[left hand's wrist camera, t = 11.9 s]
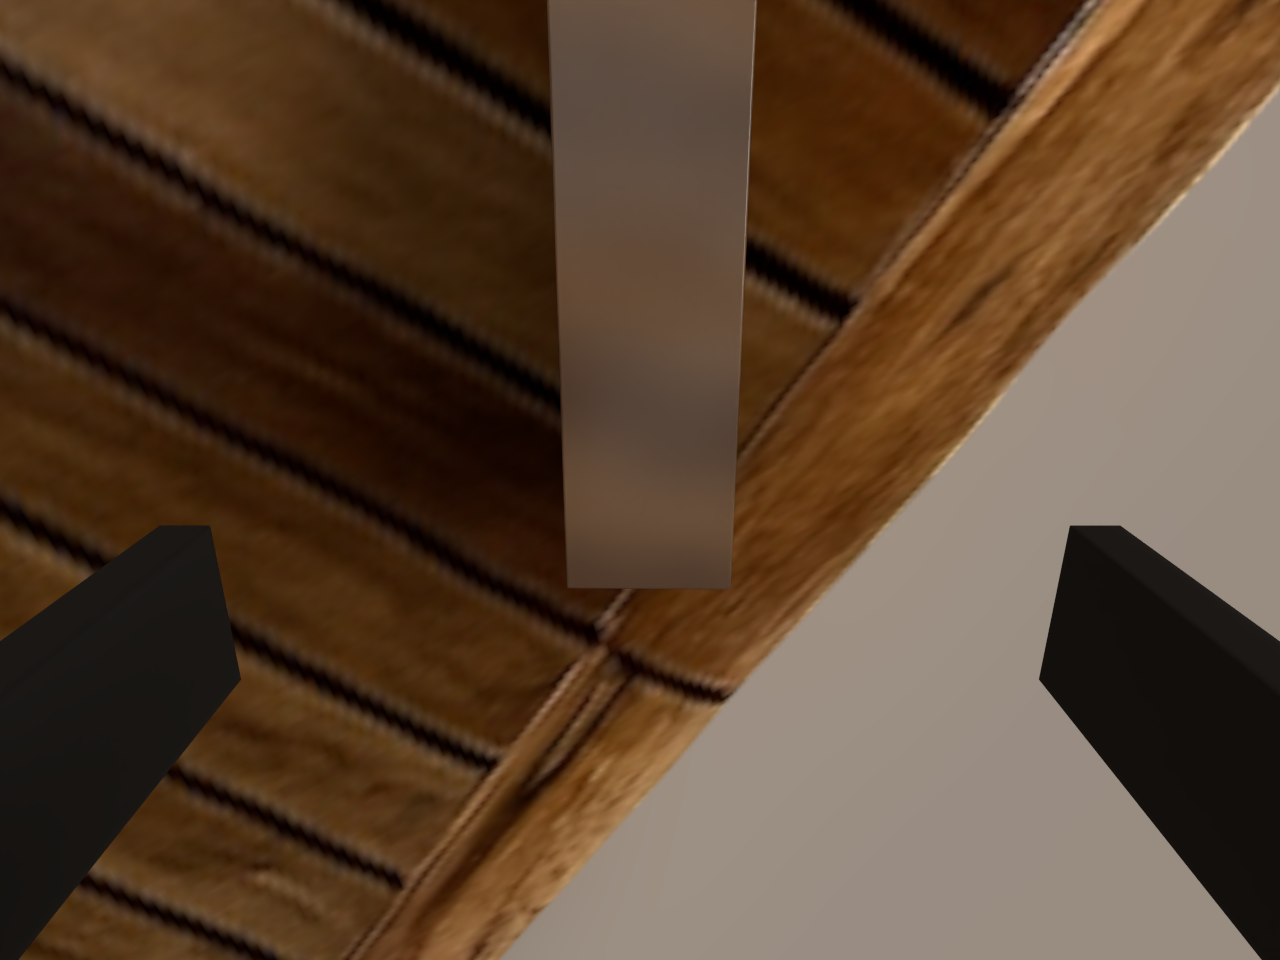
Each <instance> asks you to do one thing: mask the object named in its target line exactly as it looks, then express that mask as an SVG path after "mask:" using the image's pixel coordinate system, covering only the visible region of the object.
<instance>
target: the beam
mask: <svg viewBox="0 0 1280 960" xmlns="http://www.w3.org/2000/svg"><path fill="white" fill-rule="evenodd" d="M756 19H757V0H547V28H548V57H549V86H550V115H551V144H552V173H553V202H554V231H555V260H556V290H557V319H558V348H559V377H560V406H561V435H562V464H563V493H564V522H565V552H566V581H567V587H568V588H620V589H730V588H731V574H732V552H733V530H734V508H735V485H736V463H737V441H738V419H739V397H740V374H741V352H742V330H743V308H744V286H745V264H746V241H747V219H748V197H749V175H750V153H751V130H752V108H753V86H754V64H755V42H756Z"/></svg>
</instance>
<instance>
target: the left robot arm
mask: <svg viewBox="0 0 1280 960" xmlns="http://www.w3.org/2000/svg"><path fill="white" fill-rule="evenodd" d="M240 680H241V677H240V672H239V667H238V662H237V657H236V652H235V647H234V642H233V637H232V632H231V627H230V623H229V618H228V613H227V608H226V603H225V598H224V593H223V588H222V583H221V578H220V573H219V568H218V563H217V558H216V553H215V548H214V543H213V538H212V533H211V528H210V526H159V527H157V528H156V529H154V530H153V531H152V532H150V533H149V534H148V535H146V536H145V537H143V538H142V539H141V540H139V541H138V542H137V543H135V544H134V545H132V546H131V547H130V548H128V549H127V550H126V551H124V552H123V553H121V554H120V555H119V556H117V557H116V558H115V559H113V560H112V561H110V562H109V563H108V564H106V565H105V566H103V567H102V568H101V569H99V570H98V571H97V572H95V573H94V574H92V575H91V576H90V577H88V578H87V579H86V580H84V581H83V582H81V583H80V584H79V585H77V586H76V587H75V588H73V589H72V590H70V591H69V592H68V593H66V594H65V595H64V596H62V597H61V598H59V599H58V600H57V601H55V602H54V603H53V604H51V605H50V606H48V607H47V608H46V609H44V610H43V611H41V612H40V613H39V614H37V615H36V616H35V617H33V618H32V619H30V620H29V621H28V622H26V623H25V624H24V625H22V626H21V627H19V628H18V629H17V630H15V631H14V632H13V633H11V634H10V635H8V636H7V637H6V638H4V639H3V640H2V641H0V960H18V959H19V958H20V957H21V956H22V954H23V953H24V952H25V951H26V949H27V948H28V947H29V946H30V944H31V943H32V942H33V941H34V939H35V938H36V937H37V936H38V934H39V933H40V932H41V931H42V929H43V928H44V927H45V925H46V924H47V923H48V922H49V920H50V919H51V918H52V917H53V915H54V914H55V913H56V912H57V910H58V909H59V908H60V907H61V905H62V904H63V903H64V902H65V900H66V899H67V898H68V897H69V895H70V894H71V893H72V891H73V890H74V889H75V888H76V886H77V885H78V884H79V883H80V881H81V880H82V879H83V878H84V876H85V875H86V874H87V873H88V871H89V870H90V869H91V868H92V866H93V865H94V864H95V863H96V861H97V860H98V859H99V858H100V856H101V855H102V854H103V852H104V851H105V850H106V849H107V847H108V846H109V845H110V844H111V842H112V841H113V840H114V839H115V837H116V836H117V835H118V834H119V832H120V831H121V830H122V829H123V827H124V826H125V825H126V824H127V822H128V821H129V820H130V818H131V817H132V816H133V815H134V813H135V812H136V811H137V810H138V808H139V807H140V806H141V805H142V803H143V802H144V801H145V800H146V798H147V797H148V796H149V795H150V793H151V792H152V791H153V790H154V788H155V787H156V786H157V785H158V783H159V782H160V781H161V779H162V778H163V777H164V776H165V774H166V773H167V772H168V771H169V769H170V768H171V767H172V766H173V764H174V763H175V762H176V761H177V759H178V758H179V757H180V756H181V754H182V753H183V752H184V751H185V749H186V748H187V747H188V745H189V744H190V743H191V742H192V740H193V739H194V738H195V737H196V735H197V734H198V733H199V732H200V730H201V729H202V728H203V727H204V725H205V724H206V723H207V722H208V720H209V719H210V718H211V717H212V715H213V714H214V713H215V711H216V710H217V709H218V708H219V706H220V705H221V704H222V703H223V701H224V700H225V699H226V698H227V696H228V695H229V694H230V693H231V691H232V690H233V689H234V688H235V686H236V685H237V684H238V683H239V681H240ZM1039 680H1040V681H1041V683H1042V684H1043V685H1044V686H1045V688H1046V689H1047V690H1048V691H1049V693H1050V694H1051V695H1052V696H1053V698H1054V699H1055V700H1056V701H1057V703H1058V704H1059V705H1060V706H1061V708H1062V709H1063V710H1064V712H1065V713H1066V714H1067V715H1068V717H1069V718H1070V719H1071V720H1072V722H1073V723H1074V724H1075V725H1076V727H1077V728H1078V729H1079V730H1080V732H1081V733H1082V734H1083V735H1084V737H1085V738H1086V739H1087V740H1088V742H1089V743H1090V744H1091V745H1092V747H1093V748H1094V749H1095V751H1096V752H1097V753H1098V754H1099V756H1100V757H1101V758H1102V759H1103V761H1104V762H1105V763H1106V764H1107V766H1108V767H1109V768H1110V769H1111V771H1112V772H1113V773H1114V774H1115V776H1116V777H1117V778H1118V779H1119V781H1120V782H1121V783H1122V784H1123V786H1124V787H1125V788H1126V789H1127V791H1128V792H1129V793H1130V795H1131V796H1132V797H1133V798H1134V800H1135V801H1136V802H1137V803H1138V805H1139V806H1140V807H1141V808H1142V810H1143V811H1144V812H1145V813H1146V815H1147V816H1148V817H1149V818H1150V820H1151V821H1152V822H1153V824H1154V825H1155V826H1156V827H1157V829H1158V830H1159V831H1160V832H1161V834H1162V835H1163V836H1164V837H1165V839H1166V840H1167V841H1168V842H1169V844H1170V845H1171V846H1172V847H1173V849H1174V850H1175V851H1176V852H1177V854H1178V855H1179V856H1180V858H1181V859H1182V860H1183V861H1184V863H1185V864H1186V865H1187V866H1188V868H1189V869H1190V870H1191V871H1192V873H1193V874H1194V875H1195V876H1196V878H1197V879H1198V880H1199V881H1200V883H1201V884H1202V885H1203V886H1204V888H1205V889H1206V890H1207V891H1208V893H1209V894H1210V895H1211V896H1212V898H1213V899H1214V900H1215V902H1216V903H1217V904H1218V905H1219V907H1220V908H1221V909H1222V910H1223V912H1224V913H1225V914H1226V915H1227V917H1228V918H1229V919H1230V920H1231V922H1232V923H1233V924H1234V925H1235V927H1236V928H1237V929H1238V930H1239V932H1240V933H1241V934H1242V936H1243V937H1244V938H1245V939H1246V941H1247V942H1248V943H1249V944H1250V946H1251V947H1252V948H1253V949H1254V951H1255V952H1256V953H1257V954H1258V956H1259V957H1260V958H1261V959H1262V960H1280V641H1278V640H1277V639H1276V638H1274V637H1273V636H1272V635H1270V634H1269V633H1267V632H1266V631H1265V630H1263V629H1262V628H1261V627H1259V626H1258V625H1256V624H1255V623H1254V622H1252V621H1251V620H1249V619H1248V618H1247V617H1245V616H1244V615H1243V614H1241V613H1240V612H1239V611H1237V610H1236V609H1234V608H1233V607H1232V606H1230V605H1229V604H1227V603H1226V602H1225V601H1223V600H1222V599H1221V598H1219V597H1218V596H1216V595H1215V594H1214V593H1212V592H1211V591H1210V590H1208V589H1207V588H1205V587H1204V586H1203V585H1201V584H1200V583H1199V582H1197V581H1196V580H1194V579H1193V578H1192V577H1190V576H1189V575H1187V574H1186V573H1185V572H1183V571H1182V570H1181V569H1179V568H1178V567H1177V566H1175V565H1174V564H1172V563H1171V562H1170V561H1168V560H1167V559H1165V558H1164V557H1163V556H1161V555H1160V554H1158V553H1157V552H1156V551H1154V550H1153V549H1152V548H1150V547H1149V546H1148V545H1146V544H1145V543H1143V542H1142V541H1141V540H1139V539H1138V538H1137V537H1135V536H1134V535H1132V534H1131V533H1130V532H1128V531H1127V530H1125V529H1124V528H1123V527H1121V526H1070V528H1069V533H1068V538H1067V543H1066V548H1065V553H1064V558H1063V563H1062V568H1061V573H1060V578H1059V583H1058V588H1057V593H1056V598H1055V603H1054V608H1053V613H1052V618H1051V623H1050V627H1049V633H1048V638H1047V642H1046V647H1045V652H1044V657H1043V662H1042V667H1041V672H1040V677H1039Z"/></svg>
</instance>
